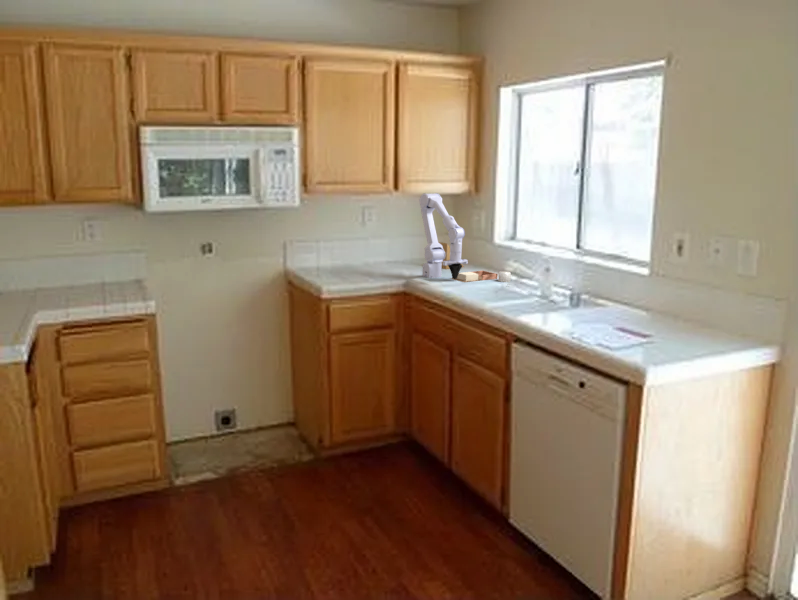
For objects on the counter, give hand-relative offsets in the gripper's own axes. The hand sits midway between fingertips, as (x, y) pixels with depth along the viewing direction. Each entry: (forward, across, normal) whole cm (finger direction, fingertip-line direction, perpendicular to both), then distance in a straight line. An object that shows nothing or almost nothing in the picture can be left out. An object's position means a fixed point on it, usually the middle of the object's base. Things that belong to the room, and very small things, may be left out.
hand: (454, 278), depth 340 cm
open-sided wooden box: (+2, +13, 0) cm, 13 cm away
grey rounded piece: (+2, +23, -12) cm, 26 cm away
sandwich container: (+3, +30, +41) cm, 50 cm away
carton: (+1, +9, 0) cm, 9 cm away
